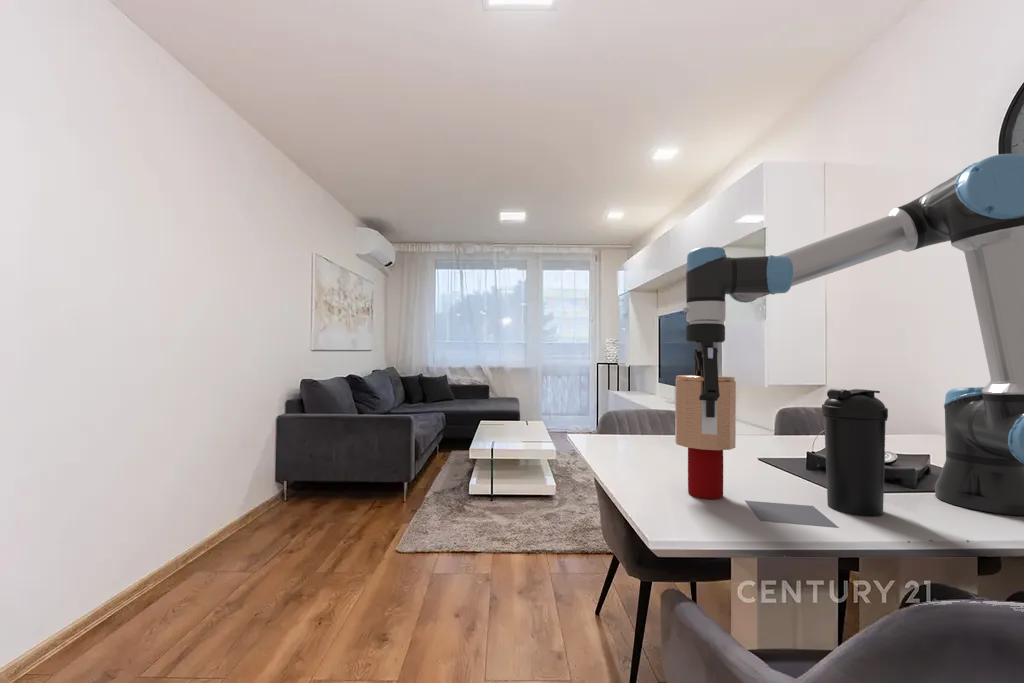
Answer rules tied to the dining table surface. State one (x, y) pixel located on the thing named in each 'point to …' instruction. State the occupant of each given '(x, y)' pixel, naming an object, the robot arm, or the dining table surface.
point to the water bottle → (855, 451)
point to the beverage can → (705, 473)
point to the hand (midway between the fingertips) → (704, 429)
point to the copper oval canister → (691, 414)
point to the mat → (789, 514)
